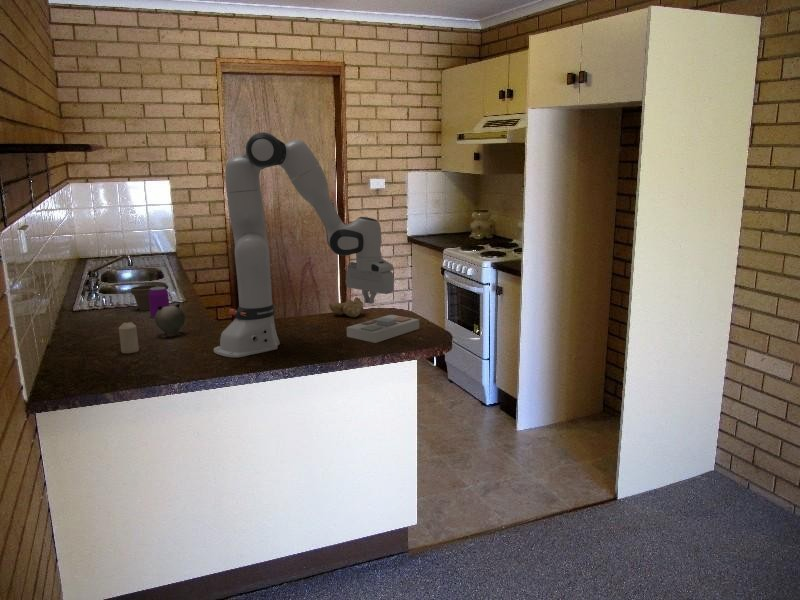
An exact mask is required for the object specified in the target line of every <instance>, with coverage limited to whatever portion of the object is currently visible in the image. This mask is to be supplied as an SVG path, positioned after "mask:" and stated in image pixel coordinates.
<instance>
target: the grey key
mask: <svg viewBox="0 0 800 600" xmlns="http://www.w3.org/2000/svg"><path fill="white" fill-rule="evenodd" d="M395 324H396V319H391V318H383V319H379V320H377V325H380V326H385V327H389V326H392V325H395Z"/></svg>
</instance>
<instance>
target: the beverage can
mask: <svg viewBox="0 0 800 600" xmlns="http://www.w3.org/2000/svg"><path fill="white" fill-rule="evenodd" d="M148 295H149V304H150V310H149V313H150V316H152V318H155V316H156V313H157V311H158V310H159V309H158V306H161V307H165V306H170V300H169V299H170V298H169V292H168V290H167V287H166V286H158V287H153V288H150V290H149V294H148Z"/></svg>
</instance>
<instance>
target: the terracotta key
mask: <svg viewBox="0 0 800 600" xmlns="http://www.w3.org/2000/svg"><path fill="white" fill-rule="evenodd" d="M405 317H406V316H402V317H397V318H394V319H396V322H405V321H408V320H410V318H411V317H408V318H405Z"/></svg>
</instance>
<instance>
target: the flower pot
mask: <svg viewBox="0 0 800 600" xmlns="http://www.w3.org/2000/svg"><path fill="white" fill-rule="evenodd" d="M153 287H159V285H156V284H146V285H137V286H134V287H131V288H130V293H131V295H133V296H134V300H135V302H136V305H137V307H138V309H139V311H141V312H147V311H149V312H150V304H149V295H148V294H149V290H150V288H153Z"/></svg>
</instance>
